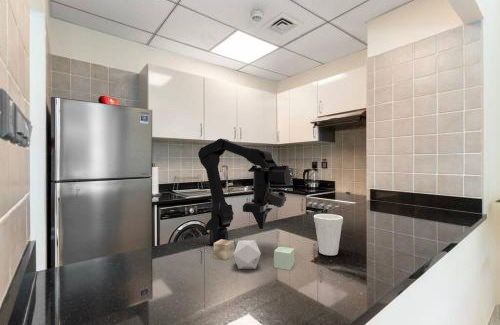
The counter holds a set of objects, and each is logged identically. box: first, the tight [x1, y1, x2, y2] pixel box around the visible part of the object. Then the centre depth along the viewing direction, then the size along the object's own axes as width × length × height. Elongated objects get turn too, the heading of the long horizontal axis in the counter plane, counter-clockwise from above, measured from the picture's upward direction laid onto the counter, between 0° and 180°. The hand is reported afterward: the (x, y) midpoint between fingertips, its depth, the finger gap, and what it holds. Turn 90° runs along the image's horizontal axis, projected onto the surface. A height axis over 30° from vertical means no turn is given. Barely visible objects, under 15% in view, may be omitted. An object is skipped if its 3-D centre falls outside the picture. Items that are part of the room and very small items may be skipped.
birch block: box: [213, 239, 235, 261], centre depth 83 cm, size 5×5×5 cm
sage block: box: [273, 246, 295, 271], centre depth 75 cm, size 5×5×5 cm
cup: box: [313, 213, 344, 256], centre depth 86 cm, size 10×10×13 cm
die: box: [233, 239, 262, 270], centre depth 74 cm, size 8×9×10 cm
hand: (261, 228), depth 86 cm, fingers closed
